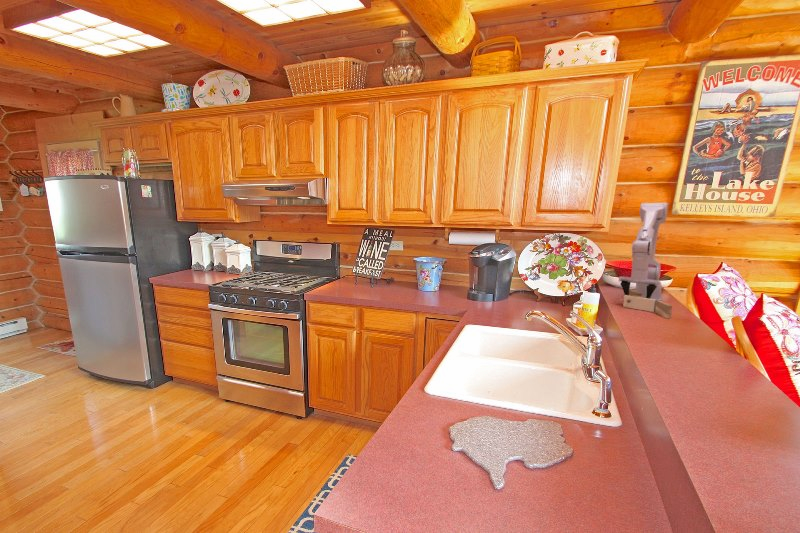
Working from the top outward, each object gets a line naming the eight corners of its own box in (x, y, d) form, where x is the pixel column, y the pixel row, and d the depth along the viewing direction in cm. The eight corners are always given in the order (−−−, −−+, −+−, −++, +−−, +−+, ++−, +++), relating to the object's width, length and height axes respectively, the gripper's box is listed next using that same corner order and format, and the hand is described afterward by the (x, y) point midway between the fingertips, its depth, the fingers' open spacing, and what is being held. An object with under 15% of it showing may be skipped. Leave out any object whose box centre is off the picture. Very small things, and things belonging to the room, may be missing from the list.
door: (623, 306, 151) (625, 294, 151) (657, 312, 142) (659, 300, 141) (622, 307, 150) (623, 295, 149) (656, 313, 141) (657, 301, 140)
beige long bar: (630, 300, 162) (631, 289, 161) (670, 318, 134) (672, 305, 134) (627, 300, 162) (628, 289, 161) (666, 318, 134) (668, 305, 134)
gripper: (617, 267, 151) (614, 298, 153) (657, 272, 140) (654, 305, 142) (623, 266, 156) (620, 295, 158) (662, 270, 145) (659, 302, 147)
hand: (636, 300), depth 150 cm, fingers open, 7 cm apart
